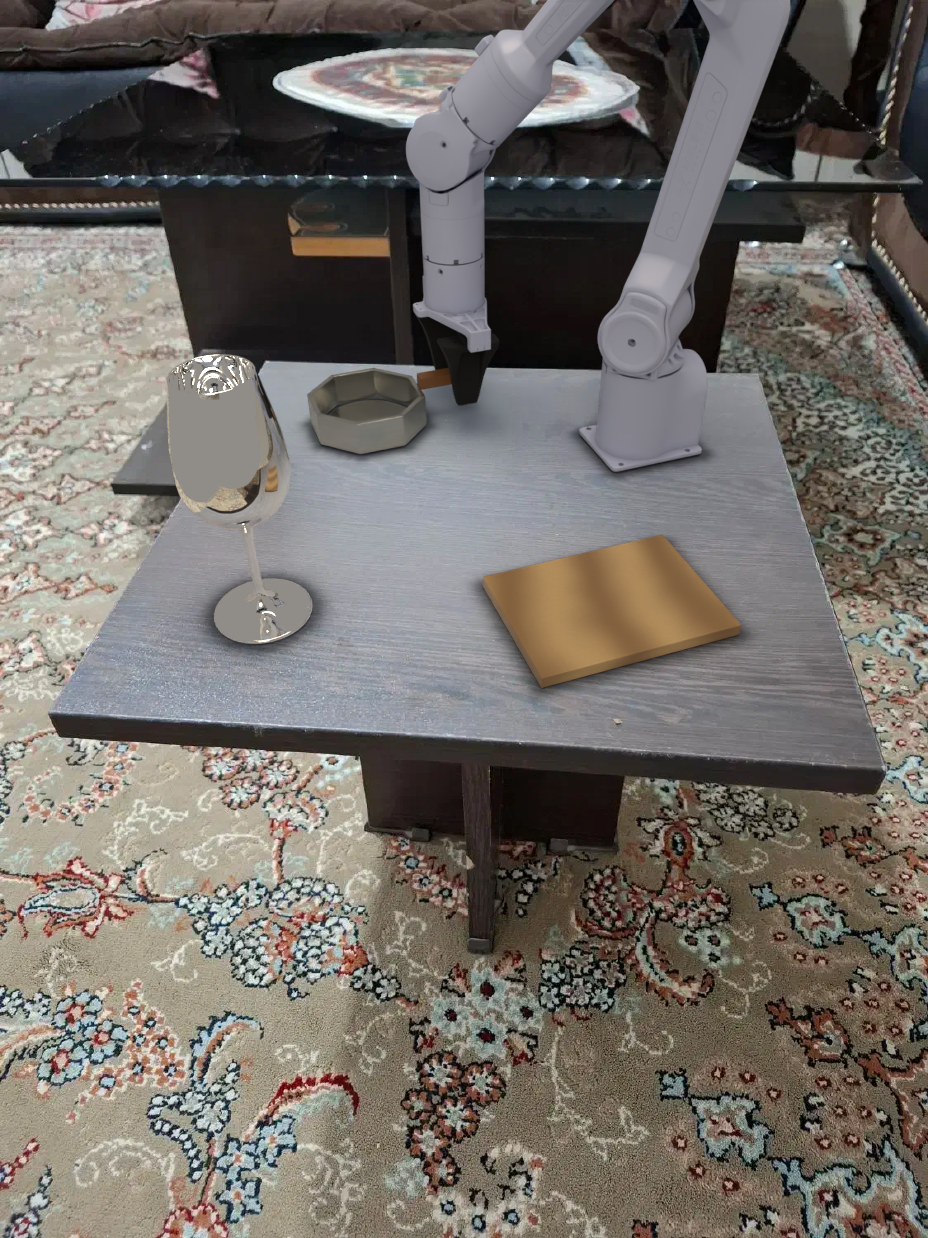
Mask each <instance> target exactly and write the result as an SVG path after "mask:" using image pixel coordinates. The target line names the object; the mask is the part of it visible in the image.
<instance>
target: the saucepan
mask: <svg viewBox="0 0 928 1238" xmlns="http://www.w3.org/2000/svg"><path fill="white" fill-rule="evenodd" d="M446 386H452V383H451V377H450V372H449V368H444V369H438V370H435V369H433V370H427V371H421V372H417V373H416V379H415V378H414V377H413V375H409V374H404V373H400V372H396V371H391V370H386V369H383V368H377V367H371V368H364V369H363V368H362V369H358V370H353V371H352V370H351V371H347V372H340V373H335V374H330V376H328V377H327V378H325V379H324V380H323V381H322V382H321V383H319V384H318V385H317V386H316V387H314V388H313V389H312V390H310V391H309V392H308V393H307V394H306V397H307V403H308V404H307V405H308V410H309V417H310V423H311V426H312V428H313V430H314V432H315V434H316V437H317V439H318V441H319V443H320V445H322V446H327V447H330V448H335V449H338V450H342V451H346V452H350V453H354V454H358V455H364V454H368V453H373V452H378V451H382V450H383V451H384V450H390V449H395V448H400V447H404V446H407V445H408V443H410V441H411V440H413V438H414V437H415V436H417V434H418V433H420V432H421V431H422V429H423V428H424V427H426V426H427V423H428V422H427V421H428V420H427V408H426V407H427V403H426V395H425V393H424V392H423V390H429V389H434V388H440V387H446ZM338 405H340V406H339V407H337V406H338ZM403 405H405V406H407V407H405V406H403ZM335 407H336V408H335Z"/></svg>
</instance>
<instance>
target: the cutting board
mask: <svg viewBox="0 0 928 1238" xmlns="http://www.w3.org/2000/svg"><path fill="white" fill-rule="evenodd" d="M482 588H483V590H484V591H485V593H486V595H487V597H488V598H489V600H490V601H491V603H492V605H493V607H494V608H495V610H496V612H497V614H498V616H499V617H500V619H501V621H502V622H503V625H504V626H505V628H506V630H507V631H508V633H509V635H510V636H511V638H512V640H513V642H514V643H515V645H516V647H517V649H518V650H519V652H520V654H521V655H522V657H523V659H524V661H525V662H526V665H527V666H528V668H529V669H530V671H531V673H532V675H533V677H534V678H535V680H536V681H537V683H538V685H539V687H540V689H543V688H547V687H552V686H554V685H559V684H562V683H565V682H570V681H573V680H577V679H581V678H583V677H587V676H591V675H595V674H598V673H603V672H606V671H610V670H614V669H617V668H621V667H625V666H629V665H631V664H632V665H633V664H636V663H640V662H644V661H647V660H651V659H654V658H658V657H662V656H666V655H669V654H673V653H676V652H680V651H684V650H688V649H691V648H695V647H698V646H703V645H706V644H709V643H714V642H716V641H720V640H725V639H729V638H731V637H735V636H736V637H737V636H739V635H740V631H741V628H742V624H741V623H740V622H739V621H738V619H737V618H736V617H735V616H734V615H733V613H732V612H731V611H730V610H729V609H728V608H727V606H725V605H724V603H723V602H722V601H721V600H720V599H719V597H718V596H717V595H716V594H715V593H714V592H713V591H712V590H711V588H710V587H709V586H708V585H707V584H706V583H705V581H704V580H703V579H702V578H701V577H700V575H698V573H697V572H696V571H695V570H694V569H693V568H692V567H691V565H690V564H689V563H688V562H687V561H686V559H685V558H684V557H683V556H682V555H681V554H680V553H679V551H678V550H677V549H676V548H675V547H674V546H673V545H672V543H671V542H670V541H669V540H668V539H667V537H666V536H664V535H663V534H658V535H655V536H651V537H646V538H642V539H637V540H634V541H629V542H624V543H620V544H617V545H612V546H608V547H603V548H600V549H595V550H591V551H586V552H581V553H579V554H574V555H570V556H565V557H561V558H557V559H553V560H549V561H548V560H547V561H544V562H540V563H535V564H530V565H527V566H523V567H518V568H514V569H510V570H506V571H502V572H498V573H492V574H489V575H484V576H482Z"/></svg>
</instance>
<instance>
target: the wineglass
mask: <svg viewBox="0 0 928 1238" xmlns="http://www.w3.org/2000/svg"><path fill="white" fill-rule="evenodd" d="M166 425H167V439H168V440H167V443H168V445H167V446H168V454H169V455H168V456H169V461H170V468H171V473H172V478H173V482H174V484H175V487H176V490H177V492H178V495H179V498H180V499H181V500H182V502H183V503H184V504H185V506H186V508H188V510H189V511H190V512H191V513H192V514H194V515H195V516H196V517H197V518H199V519H200V520H202V521H203V522H205V523H206V524H209V525H211V526H213V527H217V528H221V529H225V530H228V531H229V530H230V531H238V533H239V535H240V538H241V540H242V544H243V547H244V551H245V554H246V560H247V563H248V568H249V572H250V577H251V580H250V581H247V582H245V583H242V584H239V585H238V586H236V587H234V588H232V589H231V590H229V591H228V592H227V593H225V594H224V595H223V596H222V597H221V599H220V600H219V601H218V602H217V604H216V606H215V609H214V611H213V612H214V613H213V622H214V624H215V627H216V629H217V630H218V632H220V634H222V635H223V636H224V637H226V638H227V639H229V640H231V641H234V642H236V643H240V644H247V645H262V644H269V643H273V642H277V641H281V640H283V639H285V638H287V637H289V636H292V634H294V633H296V632H298V631H299V630H300V629H301V628H302V627H303V626H305V624H306V623H308V622H307V621H308V620H309V619H310V617H311V614H312V612H313V606H314V605H313V599H312V597H311V595H310V593H309V592H308V591H307V589H306V588H305V587H304V586H302V585H300V584H299V583H296V582H294V581H291V580H288V579H284V578H276V577H275V578H273V577H271V578H270V577H269V578H268V577H267V578H262V576H261V575H262V574H261V570H260V565H259V562H258V556H257V552H256V547H255V541H254V527H257V526H259V525H261V524H263V523H264V522H266V521H267V520H269V519H270V518H271V517H272V516H273V515H275V514H276V512H278V511H279V510H280V508H281V506H282V504H283V502H284V501H285V499H286V497H287V496H288V493H289V490H290V489H289V488H290V484H291V480H292V470H291V462H290V461H291V459H290V455H289V450H288V447H287V444H286V443H287V442H286V439H285V437H284V434H283V431H282V427H281V426H280V423H279V420H278V417H277V414H276V412H275V409H274V407H273V405H272V402H271V401H270V397H269V395H268V393H267V391H266V389H265V387H264V383H263V382H262V380H261V377H260V375H259V372H258V370H257V368H256V366H255V364H254V363H253V362H252V361H250V360H249V359H247V358H245V357H243V356H240V355H234V354H228V353H227V354H226V353H221V354H220V353H219V354H218V353H216V354H215V353H214V354H207V355H201V356H197V357H193V358H190V359H188V360H184V361H183V362H181V363H179V364H177V365H176V366H175V367H173V368H172V369H171V370H170V371H169V372H168V374H167V376H166Z"/></svg>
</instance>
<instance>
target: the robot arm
mask: <svg viewBox="0 0 928 1238" xmlns="http://www.w3.org/2000/svg"><path fill="white" fill-rule="evenodd" d="M614 1H615V0H546V2H544V4H543V5H542V6H541V8H540V9H539V10H538V11H537V13H536V14H535V15H534V16H533V18H532V19H531V20H530V21H529V23H528V24H527V25H526V27H525V28H524V29H523V30H522V29H521V30H520V29H519V30H518V29H502V30H500V31H499V32H498V33H497V34H496V35H495V36H493V35H492V34H488V35H487V36H485V37H483V38H482V39H481V40H480V41H479V42H478V43H477V45H476V46H475V47H474V52H475V53H476V55H477V59H475V60H474V62H473V63H472V64H471V65H470V67H468V69H467V70H466V72H464V73H463V75H462V76H461V77H460V79H459V80H458V81H456V83H455V84H454V85H452V84H449V85H446V86H445V87H444V88H443V90H442V91H441V92H440V93H439V95H438V97H439V99H440V101H441V102H440V108H439V109H438V110H436V111H432V112H427V113H424V114H422V115H420V116H419V117H417V118H416V119H415V121H414V123H413V126H412V128H411V129H410V131H409V133H408V135H407V140H406V143H405V155H406V157H405V158H406V162H407V165H408V167H409V170H410V171H411V173H412V175H413V176H414V178H415V179H416V180H417V181H418V183H419V205H420V209H419V210H420V227H421V228H420V229H421V247H422V264H423V265H422V269H423V275H422V293H423V298H422V301H419V302H418V301H417V302H414V303H413V304H412V311H413V313H414V316H416V318H417V320H418V322H419V324H420V326H421V329H422V330H423V333H424V335H425V338H426V341H427V344H428V348H429V351H430V356H431V360H432V364H433V367H434V370H438V369H444V368H449V372H450V377H451V383H452V385H451V389H452V394H453V398H454V401H455V403H456V405H457V406H458V407H462V406H466V405H471V404H472V405H473V404H477V403H478V400H479V397H480V393H481V390H482V386H483V381H484V378H485V375H486V371H487V369H488V366H489V365H490V362H491V360H492V358H493V356H494V355H495V353H496V352H497V350H498V349H499V347H500V339H499V338H498V336H497V335H496V334H495V333H494V332H492V329H491V328H490V326H489V324H488V301H487V298H486V297H485V293H486V292H485V285H486V282H485V280H486V279H485V278H486V277H485V271H486V270H485V269H486V267H485V264H486V263H485V262H486V261H485V259H486V258H485V257H486V256H485V254H486V253H485V171H486V169H487V168H488V166H489V165H490V164H491V162H492V160H493V158H494V157H495V153H496V150H497V148H499V147H500V146H501V144H503V142H505V141H506V139H508V138H509V136H510V135H511V134H512V133H513V132H514V131H515V130H516V129H517V128H518V126H520V124H521V123H522V122H523V121H525V119H526V118H527V117H528V116H529V115H530V114H531V113H532V112H533V111H534V110H535V109H536V107H538V105H539V104H540V103H541V102H542V101H543V100H544V99H545V98H547V96H548V95H549V94H550V91H551V88H552V81H553V69H554V68H553V67H554V63H555V62H556V61H557V59H558V58H560V56H562V54H563V53H565V51H566V50H568V49H569V47H570V46H572V44H573V43H574V42H576V40H577V39H579V37H580V36H581V35H582V34H583V33H584V32H585V31H586V30H587V29H588V28H589V27H590V26H591V25H592V24H593V23H594V22H595V21H596V20H597V19H598V18H599V17H600V16H601V15H602V13H604V12H605V10H607V9H608V7H609V6H611V5H612V3H613V2H614ZM693 3H694V5H695V6H696V8H697V10H698V12H699V15H700V17H701V18H702V21H703V23H704V25H705V27H706V29H707V31H708V34H709V39H708V43H707V45H706V49H705V51H704V54H703V58H702V61H701V64H700V67H699V71H698V73H697V76H696V80H695V82H694V86H693V89H692V91H691V95H690V98H689V101H688V104H687V107H686V110H685V113H684V117H683V119H682V122H681V125H680V127H679V128H680V129H679V131H678V135H677V137H676V141H675V144H674V147H673V150H672V152H671V153H672V154H671V156H670V160H669V162H668V166H667V168H666V172H665V175H664V178H663V181H662V183H661V186H660V187H661V188H660V191H659V193H658V196H657V200H656V203H655V206H654V209H653V211H652V215H651V218H650V221H649V224H648V227H647V231H646V233H645V236H644V240H643V242H642V246H641V249H640V251H639V254H638V256H637V258H636V260H635V263H634V265H633V266H632V269H631V271H630V273H629V275H628V276H627V279H626V281H625V283H624V285H623V289H622V292H621V294H620V297H619V299H618V301H617V303H616V304H615V305H614V307H613V308H611V309H610V311H609V312H608V313H607V314H605V316H604V317H603V318H602V320H601V322H600V324H599V326H598V330H597V344H598V349H599V352H600V355H601V356H602V362H601V373H600V383H599V393H598V403H597V415H596V416H597V417H596V424H593V425H588V426H583V427H580V428H579V429H578V435H580V436H581V437H582V438H583V440H584V441H585V442H586V443H587V444H588V445H589V447H590V448H591V449H592V450H593V451H594V452H595V453H596V455H597V456H598V457H599V458H600V459H601V460H602V461H603V462H604V464H605V465H606V466H607V467H608V468H609V469H610V470H611V471H612V472H617V473H618V472H622V471H626V470H631V469H637V468H641V467H645V466H651V465H656V464H659V463H660V464H661V463H665V462H669V461H675V460H678V459H683V458H687V457H692V456H693V457H694V456H697V455H701V454H702V452H703V448H702V447H701V446H700V444H699V441H700V435H701V431H702V424H703V419H704V414H705V408H706V403H707V397H708V388H709V383H708V382H709V381H708V373H707V369H706V366H705V363H704V361H703V359H702V358H701V356H700V355H699V354H698V353H697V352H696V351H695V350H693V349H689V348H683V346H682V343H681V340H680V337H679V336H680V335H681V333H682V331H684V329H685V328H686V327H687V326H688V325H689V324H690V322H691V320H692V318H693V315H694V313H695V309H696V308H695V307H696V299H695V291H694V287H695V281H696V277H697V275H698V272H699V270H700V257H701V255H702V252H703V249H704V246H705V244H706V241H707V239H708V236H709V233H710V230H711V228H712V225H713V222H714V219H715V217H716V215H717V211H718V210H719V207H720V204H721V201H722V198H723V196H724V194H725V190H726V188H727V185H728V182H729V180H730V177H731V175H732V172H733V169H734V167H735V164H736V161H737V158H738V156H739V153H740V150H741V148H742V145H743V143H744V140H745V137H746V135H747V132H748V129H749V126H750V124H751V121H752V119H753V116H754V114H755V111H756V108H757V105H758V103H759V100H760V97H761V95H762V92H763V89H764V87H765V84H766V81H767V79H768V76H769V73H770V71H771V68H772V66H773V63H774V60H775V58H776V55H777V52H778V50H779V47H780V44H781V41H782V38H783V36H784V33H785V30H786V28H787V25H788V23H789V18H790V13H791V0H693Z"/></svg>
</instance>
